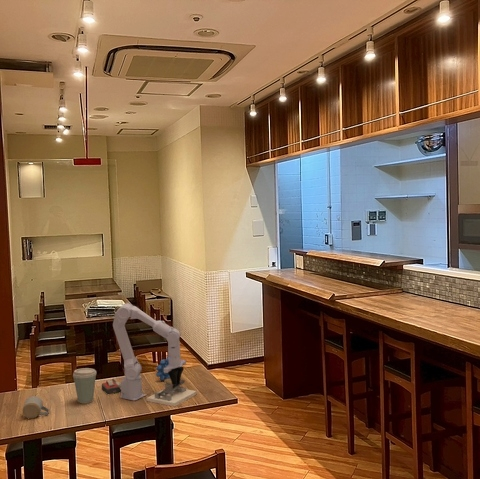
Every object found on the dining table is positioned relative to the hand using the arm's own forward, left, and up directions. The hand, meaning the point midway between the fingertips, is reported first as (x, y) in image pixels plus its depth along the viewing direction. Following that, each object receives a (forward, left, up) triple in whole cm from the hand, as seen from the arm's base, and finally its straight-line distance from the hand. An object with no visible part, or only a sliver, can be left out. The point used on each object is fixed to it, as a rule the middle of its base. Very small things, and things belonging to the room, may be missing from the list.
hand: (175, 383), depth 242 cm
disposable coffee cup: (-34, -24, -6) cm, 42 cm away
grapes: (-19, +17, -6) cm, 26 cm away
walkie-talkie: (-37, -5, -6) cm, 38 cm away
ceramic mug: (-42, -46, -6) cm, 62 cm away
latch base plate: (0, -3, -6) cm, 7 cm away
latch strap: (0, -3, -2) cm, 4 cm away
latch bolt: (-6, +3, -1) cm, 7 cm away
